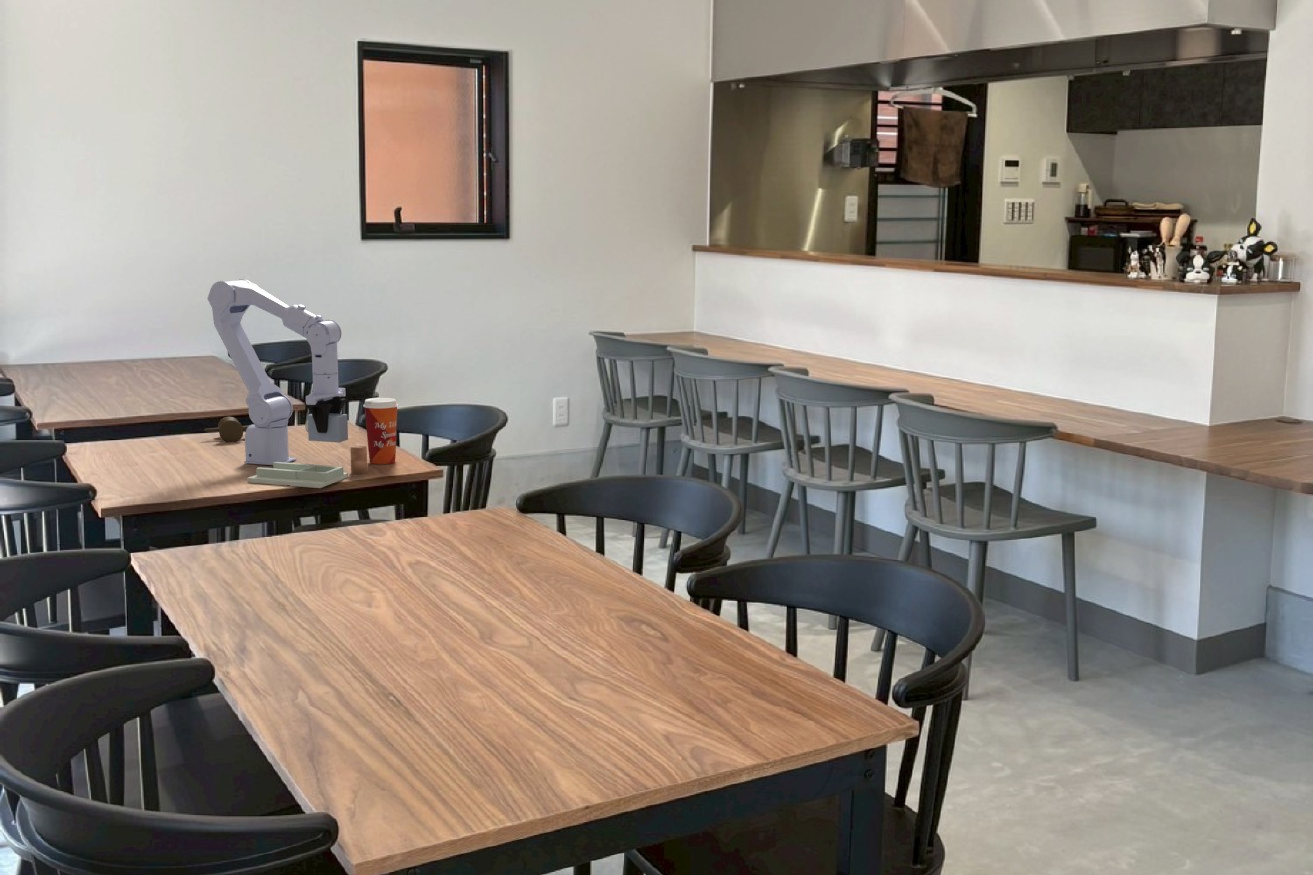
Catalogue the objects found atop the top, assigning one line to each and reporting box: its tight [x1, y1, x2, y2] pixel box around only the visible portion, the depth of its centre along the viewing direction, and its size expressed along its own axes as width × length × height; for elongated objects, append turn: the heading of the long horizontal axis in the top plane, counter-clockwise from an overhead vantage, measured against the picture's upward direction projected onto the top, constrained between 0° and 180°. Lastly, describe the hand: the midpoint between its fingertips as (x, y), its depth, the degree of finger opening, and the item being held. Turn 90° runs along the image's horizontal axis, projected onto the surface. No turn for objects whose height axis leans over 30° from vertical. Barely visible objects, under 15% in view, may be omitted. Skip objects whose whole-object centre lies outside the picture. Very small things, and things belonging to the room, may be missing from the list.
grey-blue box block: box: [305, 413, 349, 444], centre depth 298 cm, size 9×4×6 cm, turn 74°
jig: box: [246, 462, 349, 489], centre depth 285 cm, size 18×12×3 cm, turn 74°
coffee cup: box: [362, 397, 399, 465], centre depth 304 cm, size 8×8×15 cm
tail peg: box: [349, 445, 368, 476], centre depth 293 cm, size 4×4×6 cm
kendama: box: [204, 416, 251, 443], centre depth 334 cm, size 6×10×20 cm
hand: (327, 431), depth 298 cm, fingers closed on grey-blue box block, 4 cm apart
